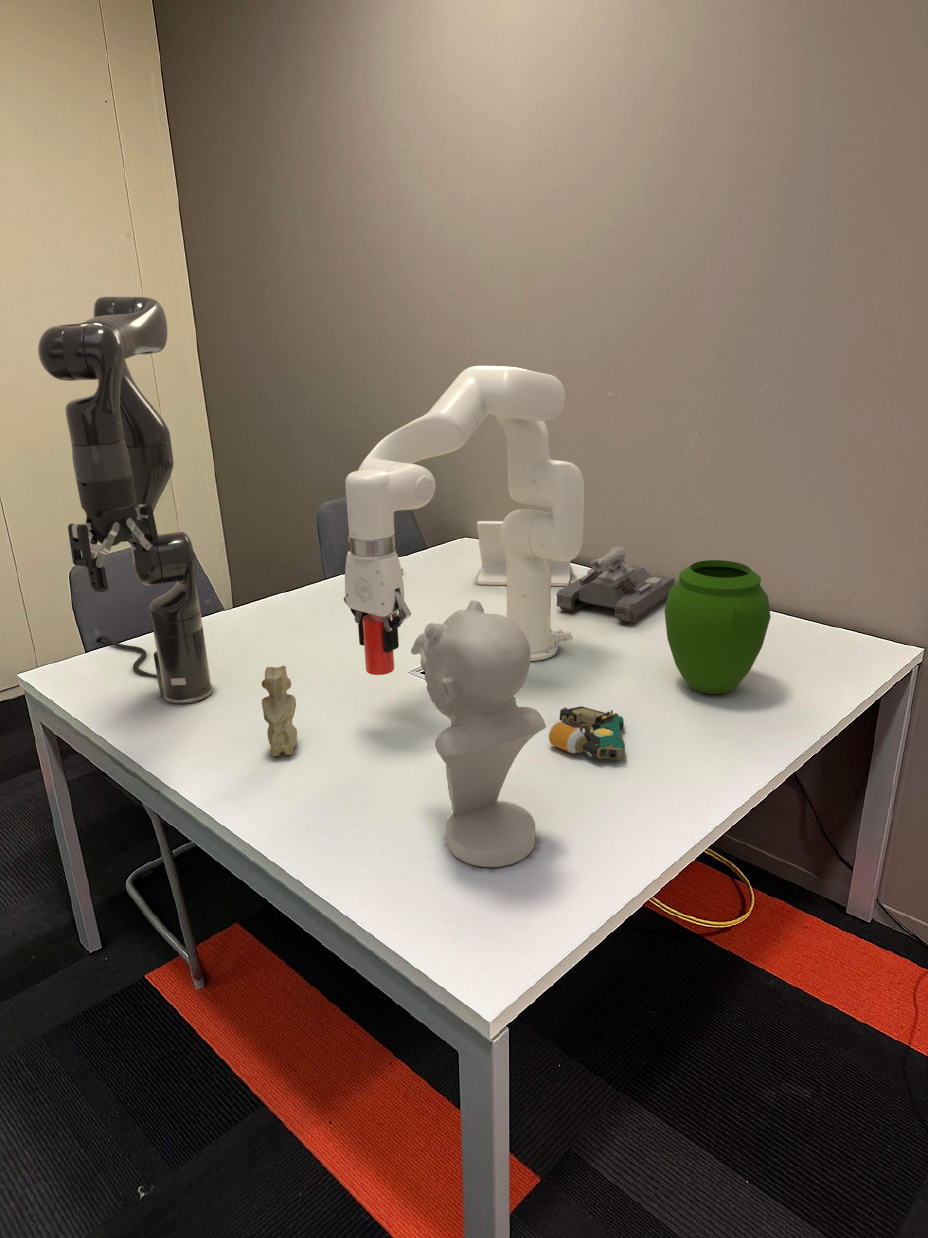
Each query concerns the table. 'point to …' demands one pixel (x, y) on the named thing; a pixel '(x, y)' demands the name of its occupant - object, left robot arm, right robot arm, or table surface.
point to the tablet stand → (496, 561)
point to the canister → (376, 646)
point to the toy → (616, 588)
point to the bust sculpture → (481, 729)
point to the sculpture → (279, 711)
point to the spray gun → (589, 733)
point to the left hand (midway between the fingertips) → (123, 582)
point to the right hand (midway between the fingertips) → (379, 645)
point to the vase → (716, 623)
